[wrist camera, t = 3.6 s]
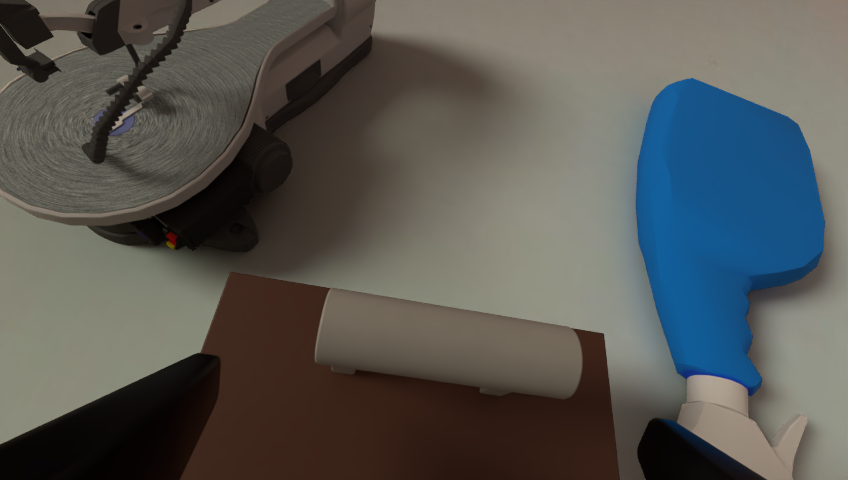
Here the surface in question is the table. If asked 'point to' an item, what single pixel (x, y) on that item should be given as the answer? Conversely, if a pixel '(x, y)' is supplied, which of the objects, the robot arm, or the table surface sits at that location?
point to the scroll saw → (165, 112)
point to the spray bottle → (724, 251)
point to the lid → (398, 391)
